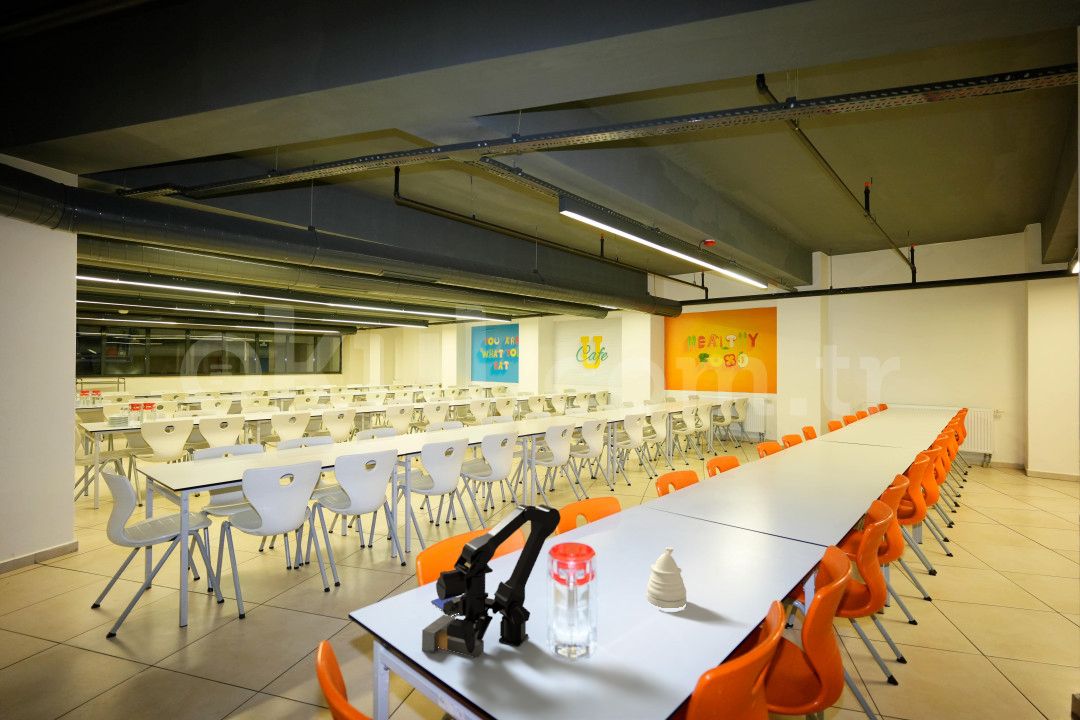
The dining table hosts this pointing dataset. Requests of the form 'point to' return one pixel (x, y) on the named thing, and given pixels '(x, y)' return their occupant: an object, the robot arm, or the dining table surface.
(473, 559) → the robot arm
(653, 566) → the honey pot
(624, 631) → the dining table surface
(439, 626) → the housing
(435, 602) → the hard drive
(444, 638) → the plug
